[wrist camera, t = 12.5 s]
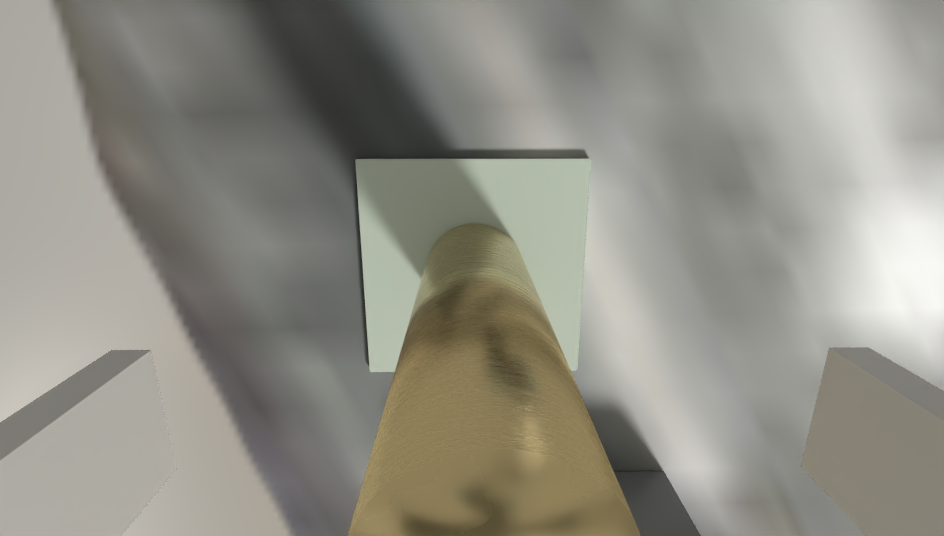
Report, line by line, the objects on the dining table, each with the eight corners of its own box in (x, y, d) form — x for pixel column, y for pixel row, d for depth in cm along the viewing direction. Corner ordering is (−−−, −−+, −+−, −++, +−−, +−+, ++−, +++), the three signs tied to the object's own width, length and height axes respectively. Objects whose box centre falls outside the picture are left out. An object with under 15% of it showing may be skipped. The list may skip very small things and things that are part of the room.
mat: (357, 158, 19) (355, 159, 19) (589, 158, 19) (591, 158, 19) (371, 368, 21) (369, 371, 21) (575, 367, 21) (577, 370, 21)
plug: (424, 223, 19) (328, 451, 6) (525, 222, 19) (661, 448, 6) (427, 317, 20) (352, 690, 7) (522, 316, 20) (631, 686, 7)
